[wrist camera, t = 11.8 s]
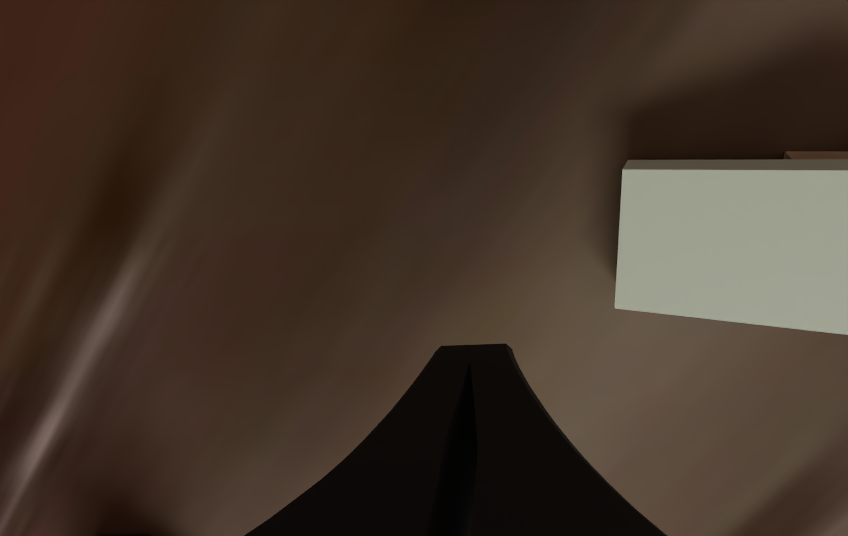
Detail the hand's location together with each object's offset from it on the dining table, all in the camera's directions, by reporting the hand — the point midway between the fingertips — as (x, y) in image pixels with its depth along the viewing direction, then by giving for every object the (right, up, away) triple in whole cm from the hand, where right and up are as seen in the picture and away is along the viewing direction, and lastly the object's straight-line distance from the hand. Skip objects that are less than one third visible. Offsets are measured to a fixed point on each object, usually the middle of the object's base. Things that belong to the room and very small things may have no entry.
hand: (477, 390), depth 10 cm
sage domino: (+5, +3, +6) cm, 9 cm away
